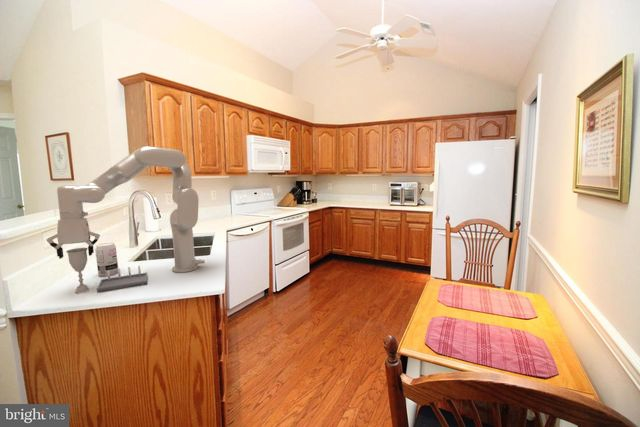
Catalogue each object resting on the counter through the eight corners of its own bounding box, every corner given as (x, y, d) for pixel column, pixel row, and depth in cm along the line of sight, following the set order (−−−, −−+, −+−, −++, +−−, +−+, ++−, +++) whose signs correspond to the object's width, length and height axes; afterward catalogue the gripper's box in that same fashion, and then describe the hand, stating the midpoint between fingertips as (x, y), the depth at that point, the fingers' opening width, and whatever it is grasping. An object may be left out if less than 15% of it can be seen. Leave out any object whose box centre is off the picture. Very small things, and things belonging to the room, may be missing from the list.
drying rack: (147, 276, 143) (146, 264, 142) (146, 284, 133) (145, 271, 132) (101, 283, 135) (100, 270, 134) (97, 292, 124) (95, 279, 123)
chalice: (80, 287, 130) (74, 247, 127) (96, 287, 131) (91, 247, 128) (67, 294, 123) (61, 252, 120) (84, 294, 123) (79, 252, 121)
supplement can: (101, 272, 149) (97, 243, 147) (120, 270, 153) (117, 241, 151) (96, 277, 142) (92, 247, 140) (116, 275, 145) (113, 245, 143)
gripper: (99, 213, 129) (103, 251, 132) (47, 216, 121) (51, 256, 123) (96, 215, 123) (100, 255, 125) (41, 218, 115) (46, 261, 117)
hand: (76, 256), depth 124 cm, fingers open, 9 cm apart
